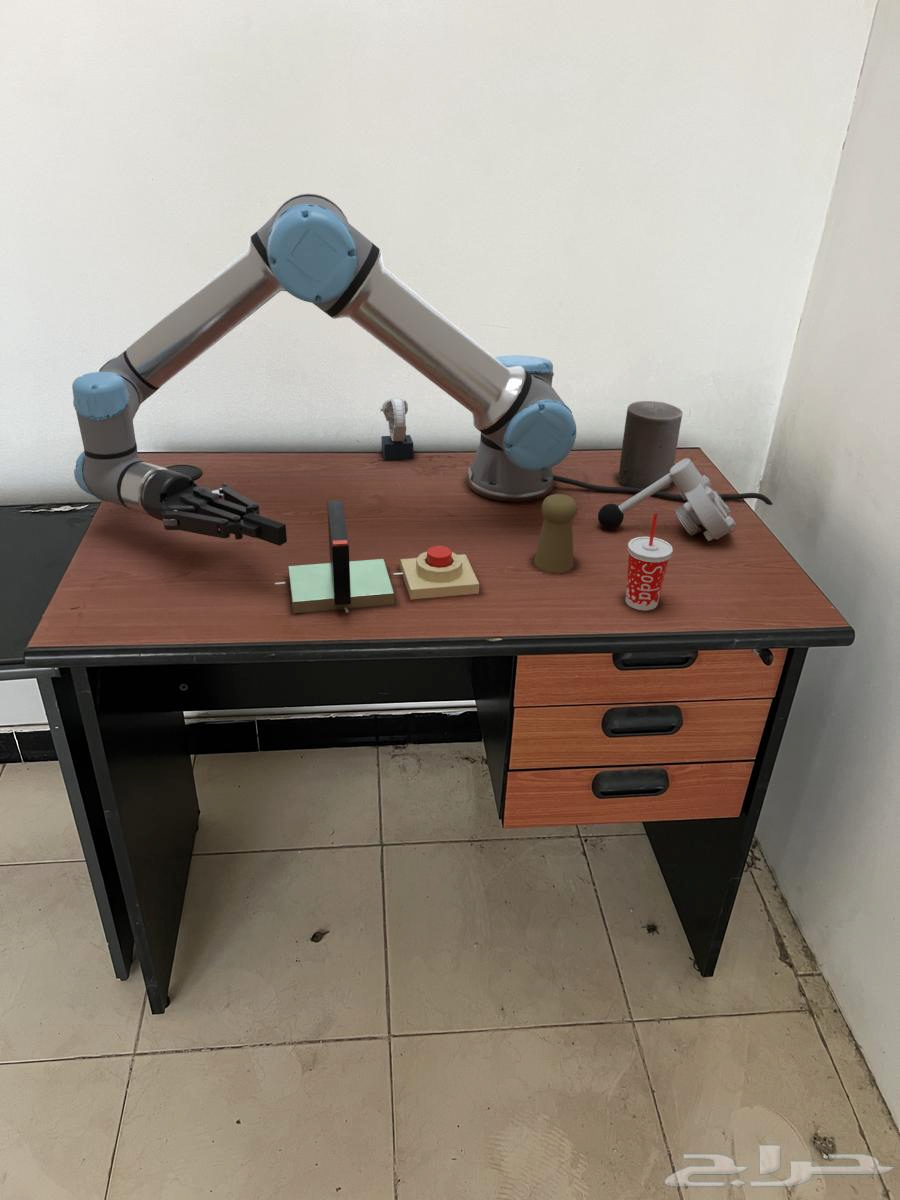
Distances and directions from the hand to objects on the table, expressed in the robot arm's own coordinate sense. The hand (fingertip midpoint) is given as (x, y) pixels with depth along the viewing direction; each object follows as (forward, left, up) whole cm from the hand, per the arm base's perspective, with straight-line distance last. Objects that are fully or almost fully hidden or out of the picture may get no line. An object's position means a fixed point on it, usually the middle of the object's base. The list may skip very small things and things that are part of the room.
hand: (282, 535), depth 122 cm
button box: (-22, 0, -10) cm, 24 cm away
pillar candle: (-67, -30, -10) cm, 73 cm away
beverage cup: (-50, +10, -10) cm, 52 cm away
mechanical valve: (-62, -10, -10) cm, 63 cm away
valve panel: (-8, 0, -10) cm, 12 cm away
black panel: (-8, 0, -7) cm, 11 cm away
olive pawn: (-41, -3, -10) cm, 42 cm away
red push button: (-22, 0, -6) cm, 23 cm away
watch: (-24, -49, -10) cm, 55 cm away
